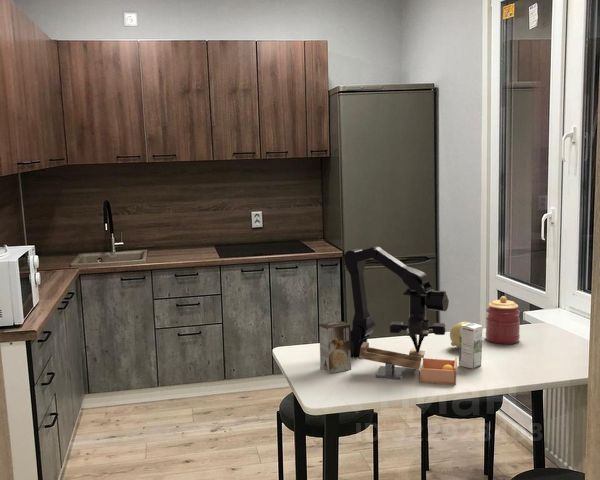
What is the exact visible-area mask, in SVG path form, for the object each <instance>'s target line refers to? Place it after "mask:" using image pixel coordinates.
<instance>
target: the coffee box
mask: <svg viewBox="0 0 600 480" xmlns="http://www.w3.org/2000/svg"><path fill="white" fill-rule="evenodd" d="M318 328H319V360H320V361H319V365H320V370H322V371H323V372H325V373H327V374H330V375H331V374H335V373H339V372H345V371H349V370H352V357H351V333H350V331H351V324H350V323H347V322H344V321H342V320H339V321H334V322H333V321H331V322H327V323H321V324H320V323H319V327H318Z"/></svg>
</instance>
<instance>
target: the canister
mask: <svg viewBox="0 0 600 480" xmlns="http://www.w3.org/2000/svg"><path fill="white" fill-rule="evenodd" d="M518 308H519V305H518V304H517V303H516V302H515V301H512V300H509V299H507V296H504V295H502V296H501V297H500V298H499V299H495V300H492V301H490V302H489V303H488V308H486V309H485V312H486V315H487V316H486V317H485V321H486V322H485V339H486V340H487V341H488V342H491V343H494V344H499V345H500V344H501V345H511V344H516V343H519V341H520V338H521V334H520V324H521V323H520V322H521V318H520V314H521V310H520V309H518Z"/></svg>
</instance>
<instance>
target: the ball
mask: <svg viewBox="0 0 600 480" xmlns="http://www.w3.org/2000/svg"><path fill="white" fill-rule="evenodd" d="M442 370H454V368H453V367H452V366H451V365H444V366H443V368H442Z"/></svg>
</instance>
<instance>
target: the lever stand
mask: <svg viewBox="0 0 600 480" xmlns="http://www.w3.org/2000/svg"><path fill="white" fill-rule="evenodd" d="M404 368H405V367H401V366H396V365H392V363H384V365H379V368H378V370H377V372H376V375H375V379H380V380H381V379H382V380H383V379H385V380H395V381H401V379H402V376H403V374H404Z"/></svg>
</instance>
